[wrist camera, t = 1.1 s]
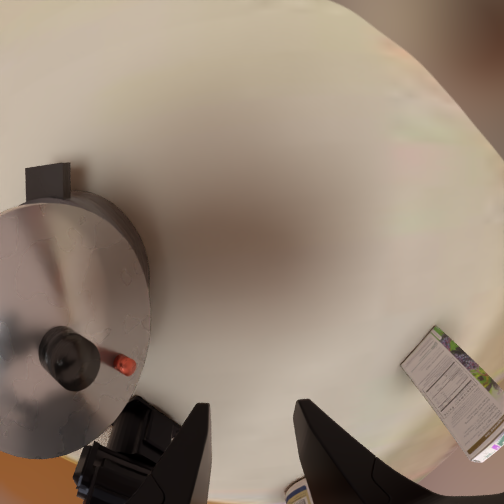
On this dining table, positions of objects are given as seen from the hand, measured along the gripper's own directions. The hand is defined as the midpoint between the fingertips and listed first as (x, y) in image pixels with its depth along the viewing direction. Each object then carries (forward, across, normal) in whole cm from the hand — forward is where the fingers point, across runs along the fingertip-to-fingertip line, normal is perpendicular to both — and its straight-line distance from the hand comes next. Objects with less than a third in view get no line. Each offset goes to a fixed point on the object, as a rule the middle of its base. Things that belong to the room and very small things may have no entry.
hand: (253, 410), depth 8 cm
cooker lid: (+3, +9, 0) cm, 10 cm away
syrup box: (+13, -21, +10) cm, 27 cm away
